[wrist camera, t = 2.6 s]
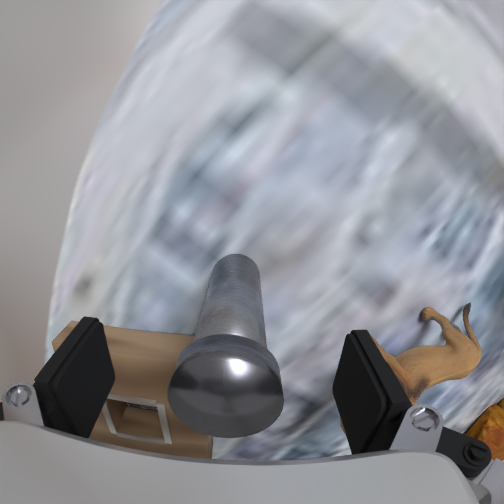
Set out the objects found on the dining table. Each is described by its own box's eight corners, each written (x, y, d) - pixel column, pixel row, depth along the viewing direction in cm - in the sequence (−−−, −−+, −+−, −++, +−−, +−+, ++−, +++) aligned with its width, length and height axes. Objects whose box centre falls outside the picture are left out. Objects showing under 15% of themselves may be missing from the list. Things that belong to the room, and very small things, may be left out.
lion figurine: (332, 392, 24) (357, 471, 16) (314, 351, 23) (341, 437, 14) (468, 321, 23) (523, 373, 14) (464, 274, 21) (532, 322, 13)
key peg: (263, 303, 22) (277, 438, 10) (207, 300, 21) (173, 433, 10) (267, 249, 20) (290, 361, 9) (207, 246, 20) (161, 354, 9)
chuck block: (212, 444, 26) (210, 471, 23) (105, 427, 26) (95, 451, 23) (207, 336, 22) (201, 365, 19) (71, 320, 22) (50, 343, 18)
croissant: (527, 378, 30) (556, 398, 22) (482, 451, 32) (504, 474, 24) (488, 380, 28) (523, 408, 20) (434, 464, 30) (457, 496, 22)
